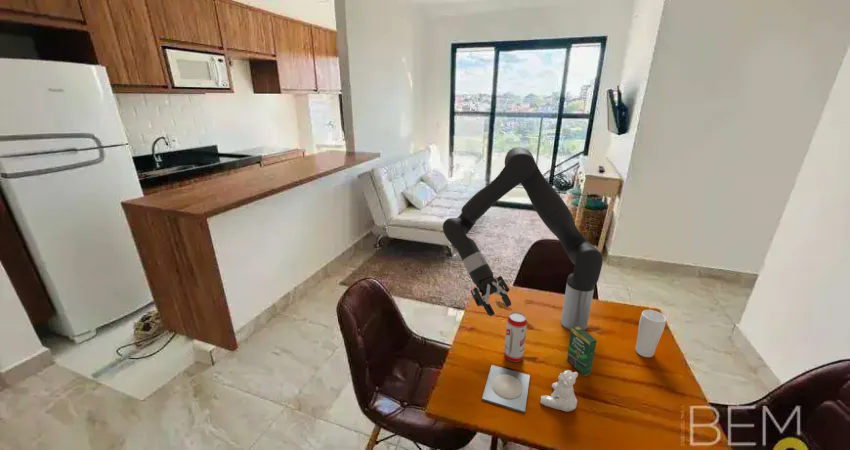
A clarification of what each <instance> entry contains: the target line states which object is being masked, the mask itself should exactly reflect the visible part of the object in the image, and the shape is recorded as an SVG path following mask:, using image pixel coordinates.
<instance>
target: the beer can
mask: <svg viewBox="0 0 850 450" xmlns="http://www.w3.org/2000/svg"><path fill="white" fill-rule="evenodd" d="M527 328H528V321H527V318H526V315H525V314H523V313H522V312H519V311H518V312H517V311H514V312H511V313H509V316H508V317H507V319H506V329H505V330H506V331H505V340H504V348H503V349H504V351H503V352H504V356H505V358H506V359H507V360H508V361H510V362H513V363H518V362H520V361H522V360H524V359H523V358H524V356H525V355H524V354H525V345H526V337H527V336H526V335H527Z"/></svg>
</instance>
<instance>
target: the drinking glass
mask: <svg viewBox="0 0 850 450" xmlns="http://www.w3.org/2000/svg"><path fill="white" fill-rule="evenodd" d="M666 323H667V317H666V316H665V315H664V314H663V313H661V312H659V311H656V310H652V309H644V310H643V311H641V315H640V319H639V323H638V330H637V337H636V344H635V347H634V349H635V352H636V353H637V354H638V355H640V356H641V357H644V358H652V357H653V356H655V351H656V350H657V347H658V345H659V341H660V339H661V337H662V335H663V332H664V329H665V326H666Z"/></svg>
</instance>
